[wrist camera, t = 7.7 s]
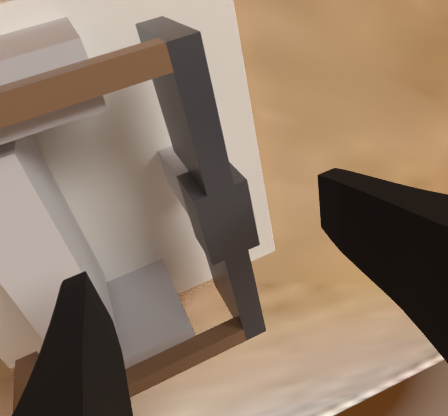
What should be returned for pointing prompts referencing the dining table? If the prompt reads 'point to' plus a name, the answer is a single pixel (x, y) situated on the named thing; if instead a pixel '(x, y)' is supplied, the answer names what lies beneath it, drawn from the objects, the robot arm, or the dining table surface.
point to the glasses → (189, 182)
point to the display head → (110, 176)
